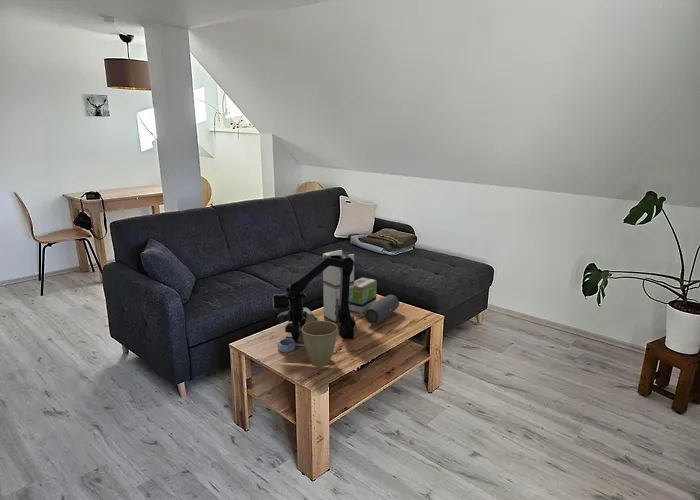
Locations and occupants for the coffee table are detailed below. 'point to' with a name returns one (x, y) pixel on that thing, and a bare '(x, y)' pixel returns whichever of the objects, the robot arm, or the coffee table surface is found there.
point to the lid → (300, 338)
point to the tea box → (362, 294)
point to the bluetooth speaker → (381, 309)
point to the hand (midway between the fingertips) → (297, 338)
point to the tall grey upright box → (333, 288)
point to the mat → (299, 344)
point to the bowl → (286, 345)
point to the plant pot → (319, 341)
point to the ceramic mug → (310, 316)
